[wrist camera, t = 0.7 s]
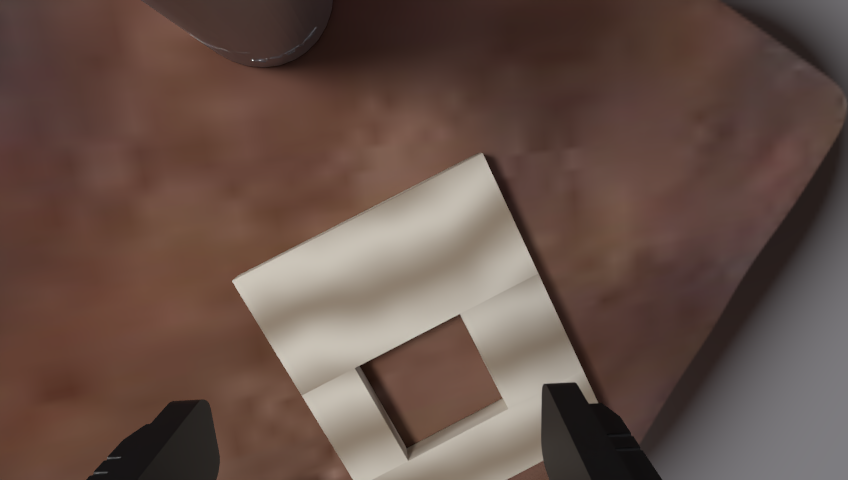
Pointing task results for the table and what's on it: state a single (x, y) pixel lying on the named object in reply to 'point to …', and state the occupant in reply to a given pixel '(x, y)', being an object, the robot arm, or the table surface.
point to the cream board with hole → (418, 325)
